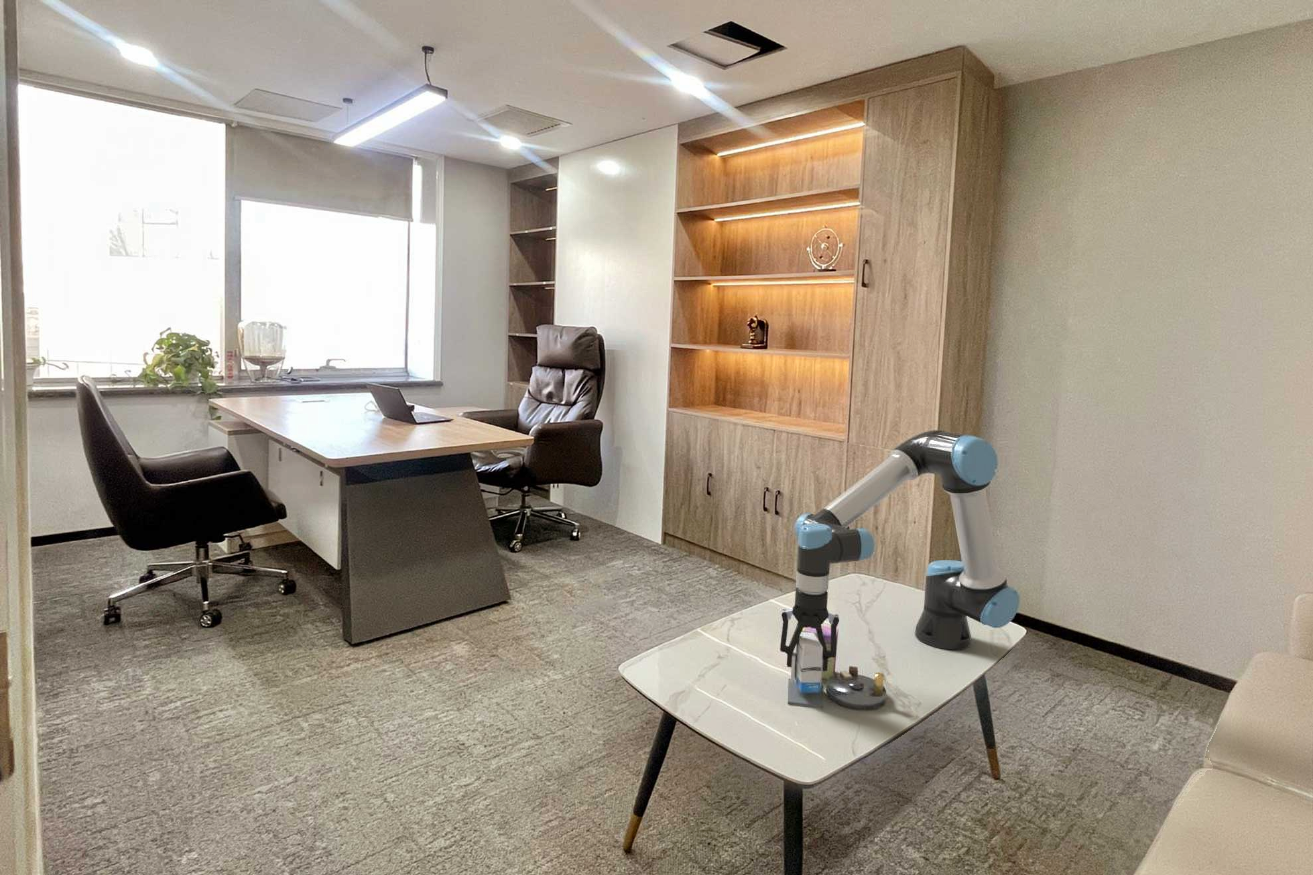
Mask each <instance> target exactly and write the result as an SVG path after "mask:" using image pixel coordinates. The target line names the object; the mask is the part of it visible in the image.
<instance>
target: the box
mask: <svg viewBox="0 0 1313 875" xmlns="http://www.w3.org/2000/svg"><path fill="white" fill-rule="evenodd" d="M821 627H822V631H823V635H824V639H825V643H826V647H827V651H828V650H831V626H830V627H829V626H822V625H821ZM802 632H807V633H814V634H815V636H816V637H817V639H818V635H817V632H816V629H815V628H811V627H807V628H805V627H803V630H802ZM838 638H839V628H838V627H837V628H836V654H837V651H838ZM818 640H819V639H818ZM836 662H837V656H836V657H834V658H833V657H830V658H829V659H828V667H827V671H822V679H825V680H826V679H827V680H828V678H830V677H831V676H833V675H835V672H836V665H837V664H836Z"/></svg>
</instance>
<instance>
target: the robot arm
mask: <svg viewBox="0 0 1313 875" xmlns="http://www.w3.org/2000/svg"><path fill="white" fill-rule="evenodd" d="M996 452H997V451H996V450H995V448H994V447H993V445H992V444H991V443H990V442H989V441H988V440H986V439H984V438H980V437H978V436H974V435H972V434H962V433H956V432H955V433H954V432H950V431H945V430H939V429H935V430H933V429H932V430H928V431H924V432H922V433H919V434H917V435H914V436H912V437H910V438H908V439H906V440H905V441H903V442H901V443H900V444H898V446H896V447H895V448H893V449H892V450H891V451H890V452H889V454H888V458H886V459H885V460H884V461H883V462H882V463H880V464H879V465H877V466H876V467H875V468H874V469H872V470H870V472H869V473H868V474H866V475H865V476H863V477H862V478H861V479H859V480H858V481H857V482H855V483H854V484H852V485H851V486H850V487H849V488H848V489H846V490H845V491H844V492H842V493H841V494H840V495H839V496H838V497H836V498H834V500H832V501H831V502H830V503H829V504H828V505H825V506H824V507H823V508H822V509H821V510H819V511H818V512H816V513H815V514H814V513H804V514H801V515H800V516H798V518H797V519H796V522H795V523H794V533H795V536H796V538H798V540H797V560H796V561H797V564H796V576H795V586H796V589H795V592H794V593H795V595H794V596H795V597H794V606H793V607H792V609H788V610H787V609H785V608H784V609H782V610H781V619H782V628H781V630H782V631H781V637H780V645H779V650H780V652H782V653H785V654H786V655H787V656H786V667H787V668H791V669H790V679H791V682H794V671H795V652H794V649H795V646H796V644H797V641H798V639H799V636H800V634H801V632H802V630H803V627H805V628H807V627H811V628H815V629H816V632H817V635H818V639H819V642H820V643H821V645H822V646H823V653H822V665H821V680H820V685H821V686H822V684H823V683H822V681H823V678H822V671H827V667H828V659H829V658H830V657H833V658H834V657H836V658H837V653H836V628H837V629H838V626H839V622H840V617H839V614H837V613H836V614H833V613H829V610H828V598H829V597H828V595H829V592H828V590H829V581H830V569H831V564H832V565H833V564H839V563H848V562H849V563H850V562H860V561H864V560H868V559H870V558H871V557H872V555H873V554H874V551H875V540H874V537H873V534H872V533H871V532H870V531H868V530H867V529H865V528H857V527H856V528H853V529H850V528H848V527H850V526H851V525H852V524H853V523H855V522H856V521H857V520H858V519H860V518H861V517H862V516H864V515H865V514H866V513H867V512H869V511H870V510H872V508H874V507H875V506H876V505H877V504H879V503H880V502H882V501H883V500H884V499H886V497H888V496H889V495H890V494H891V493H893V492H894V491H896V490H897V489H898V488H899V487H901V486H902V485H903V484H905V483H906V482H907V481H914V480H916V479H917V478H918V477H920V476H922V475H926V474H933V475H936V476H939V478H940V484H941V489H942V490H943V491H944V492H945V493H947V494H948V495H949V496H950V502H951V503H950V504H951V509H952V513H953V519H954V525H955V530H956V534H957V541H958V547H959V552H960V559H961V560H960V561H959V560H949V559H947V560H946V559H942V560H934V561H932V562H930V563H929V564H928V566H927V571H926V575H925V589H924V601H923V611H922V612H921V615H920V617H919V619H918V621H917V623H916V625H915V628H914V629H915V630H914V633H915V634H914V636H915V637H916V639H917V640H918V641H919V642H920V641H921V642H922V643H923V644H926V645H929V646H931V647H935V648H939V649H945V650H954V651H956V650H964V649H967V648H969V647H970V646H971V644H972V635H971V630H970V626H969V622H968V621H969V620H968V618H969V619H972V620H974V621H976V622H978V623H980V624H982V625H984V626H988V627H991V628H995V629H1000V628H1003V627H1004V626H1006V625H1008V624H1010V622H1012V620H1013V619H1014V618H1015V616H1016V615H1017V613H1018V611H1019V608H1020V602H1021V601H1020V600H1021V598H1020V594H1019V592H1018V591H1017V590H1015V588H1013V587H1010V586H1009V585H1008V580H1007V575H1006V572H1005V571H1004V570H1002V569H1001V568H999V563H998V558H997V551H996V546H995V540H994V534H993V529H992V523H991V522H992V521H991V516H990V511H989V509H990V508H989V504H988V503H989V502H988V498H987V492H986V490H987V489H988V487H989V486H990V485H991V481H992V480H993V479H994V478H995V476H996V470H997V469H998V465H999V464H998V462H999V461H998V454H997V453H996ZM989 488H990V487H989ZM792 616H794V618H795V620H796V621H797V623H796V626H795V630H794V631H793V634H792V635H791V636H792V637H791V639H790V642H789V645H787V639H788V630H789V629H788V628H789V621H790V620H791V619H792ZM827 619H828V622H829V624H830V627H831V650H828V651H827V647H826V643H825V639H824V635H823V631H822V627H821V626H822V624H824V622H825V621H826V620H827Z"/></svg>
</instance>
